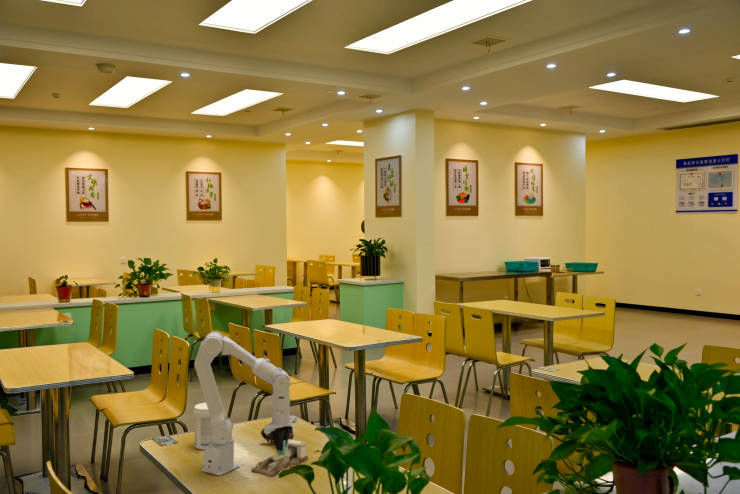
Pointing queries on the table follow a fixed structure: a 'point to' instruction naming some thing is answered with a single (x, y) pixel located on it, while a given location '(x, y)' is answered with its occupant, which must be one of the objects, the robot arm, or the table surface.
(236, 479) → the table surface
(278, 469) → the channel board
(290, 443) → the socket block
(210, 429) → the supplement tub
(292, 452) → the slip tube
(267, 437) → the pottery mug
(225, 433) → the robot arm
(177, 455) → the table surface
